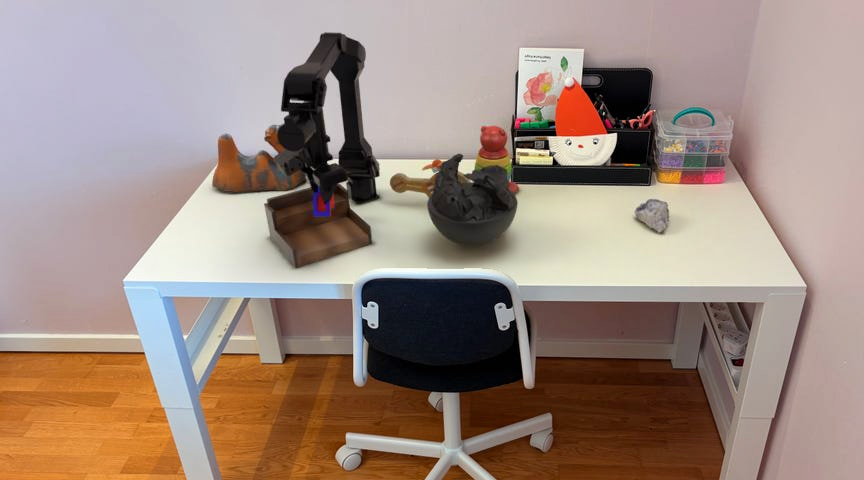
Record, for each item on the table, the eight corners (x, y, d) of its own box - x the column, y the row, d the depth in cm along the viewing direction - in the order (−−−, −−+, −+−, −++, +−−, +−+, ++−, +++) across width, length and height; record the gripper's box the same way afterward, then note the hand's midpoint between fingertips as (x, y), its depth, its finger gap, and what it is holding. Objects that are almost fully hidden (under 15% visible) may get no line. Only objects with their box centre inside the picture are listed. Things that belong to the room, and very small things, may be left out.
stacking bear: (521, 189, 189) (523, 123, 179) (502, 204, 182) (502, 137, 172) (486, 180, 194) (485, 116, 184) (465, 195, 187) (463, 129, 177)
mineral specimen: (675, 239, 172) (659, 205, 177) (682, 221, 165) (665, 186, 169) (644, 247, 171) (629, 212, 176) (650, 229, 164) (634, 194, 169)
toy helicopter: (466, 220, 175) (464, 167, 168) (386, 210, 181) (381, 159, 173) (475, 205, 182) (474, 154, 174) (398, 196, 187) (394, 146, 180)
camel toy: (207, 193, 191) (193, 131, 182) (228, 172, 202) (215, 112, 193) (299, 197, 188) (288, 134, 179) (315, 176, 199) (306, 115, 190)
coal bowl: (520, 262, 158) (521, 183, 148) (428, 264, 158) (423, 186, 148) (513, 218, 175) (514, 145, 165) (430, 221, 175) (426, 147, 165)
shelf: (343, 216, 178) (338, 179, 173) (372, 243, 167) (368, 204, 161) (270, 238, 170) (263, 199, 165) (295, 268, 159) (288, 227, 153)
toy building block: (334, 216, 161) (333, 179, 160) (330, 216, 157) (328, 178, 156) (318, 216, 161) (317, 179, 160) (313, 216, 157) (312, 179, 156)
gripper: (259, 127, 154) (271, 193, 162) (291, 156, 141) (303, 227, 149) (308, 115, 159) (318, 180, 167) (344, 142, 145) (353, 212, 154)
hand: (321, 199), depth 159 cm, fingers closed on toy building block, 5 cm apart
